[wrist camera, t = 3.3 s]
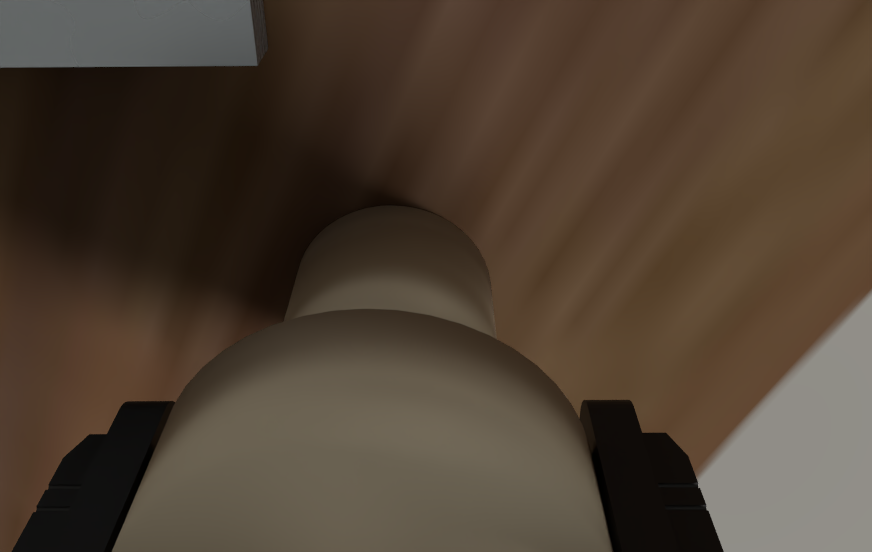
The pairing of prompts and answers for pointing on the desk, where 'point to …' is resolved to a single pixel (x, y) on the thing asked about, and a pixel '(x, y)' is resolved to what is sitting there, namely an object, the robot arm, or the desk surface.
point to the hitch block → (131, 33)
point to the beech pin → (373, 418)
